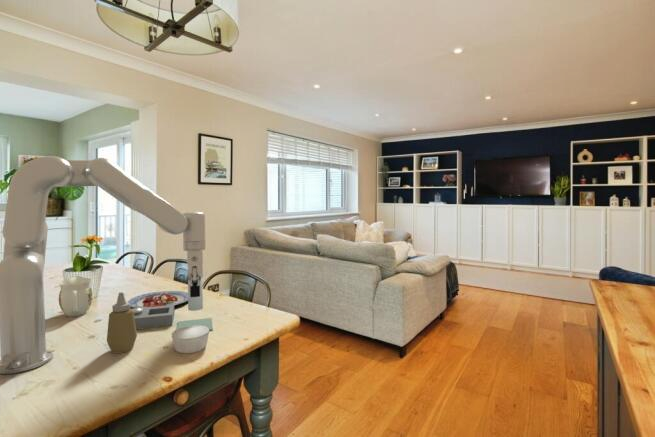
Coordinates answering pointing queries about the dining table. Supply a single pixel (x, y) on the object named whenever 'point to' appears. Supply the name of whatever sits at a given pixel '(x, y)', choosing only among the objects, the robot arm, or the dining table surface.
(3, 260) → the robot arm
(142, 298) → the ceramic plate
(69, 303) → the pitcher
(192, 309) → the cylinder
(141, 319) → the housing
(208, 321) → the mat
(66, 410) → the dining table surface
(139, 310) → the plunger
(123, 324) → the squeeze bottle
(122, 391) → the dining table surface
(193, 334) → the ramekin
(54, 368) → the dining table surface
